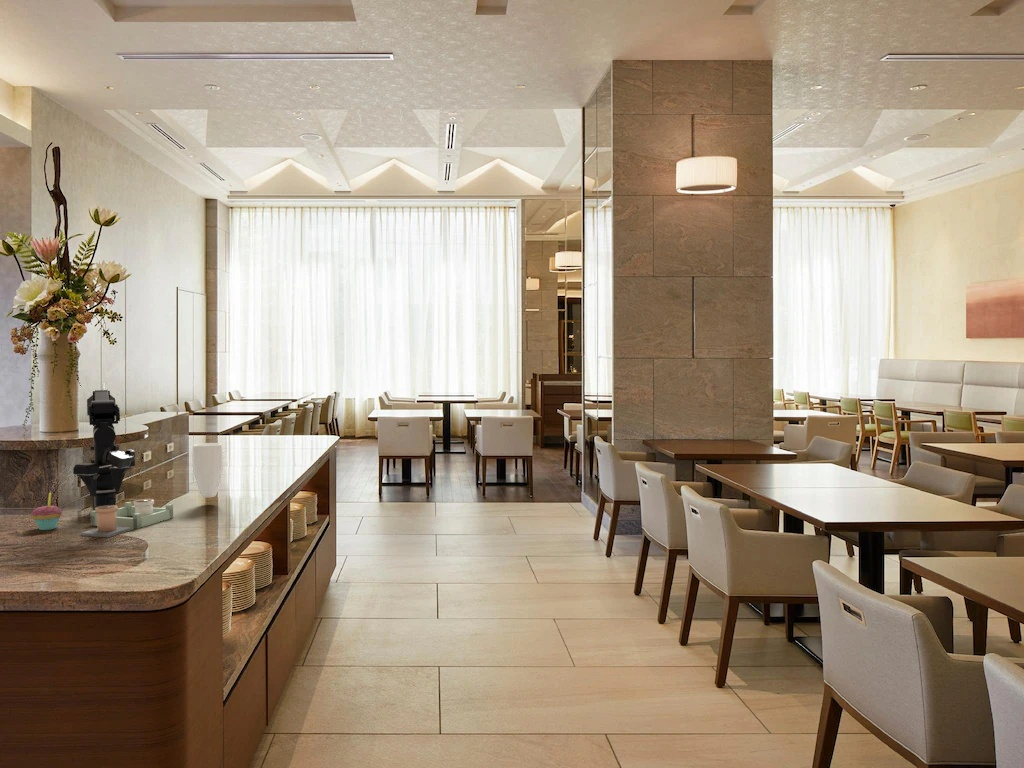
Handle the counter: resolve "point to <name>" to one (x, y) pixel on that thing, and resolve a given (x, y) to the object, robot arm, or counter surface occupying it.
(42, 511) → the cupcake
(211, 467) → the cup
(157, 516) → the cold frame
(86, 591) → the counter surface
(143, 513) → the pot
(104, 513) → the terracotta pot
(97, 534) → the slate tile
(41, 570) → the counter surface
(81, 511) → the counter surface
